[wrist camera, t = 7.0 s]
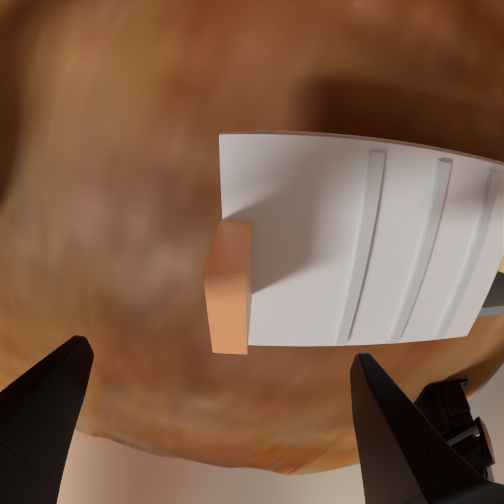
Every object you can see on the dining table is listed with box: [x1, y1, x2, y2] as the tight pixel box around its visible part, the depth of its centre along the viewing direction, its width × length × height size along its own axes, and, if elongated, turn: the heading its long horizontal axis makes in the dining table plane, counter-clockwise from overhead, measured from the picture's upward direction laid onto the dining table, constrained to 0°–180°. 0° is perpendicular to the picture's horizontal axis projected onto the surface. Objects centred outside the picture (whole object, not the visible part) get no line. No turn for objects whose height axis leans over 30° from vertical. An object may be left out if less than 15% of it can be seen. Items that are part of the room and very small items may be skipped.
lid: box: [203, 130, 504, 354], centre depth 13 cm, size 12×16×5 cm
